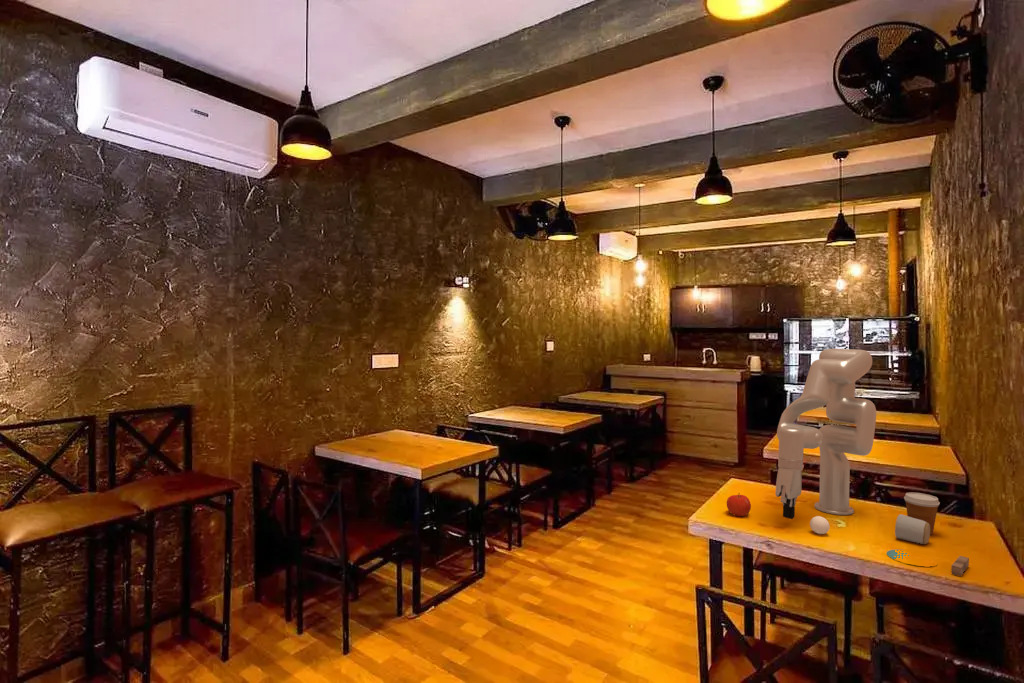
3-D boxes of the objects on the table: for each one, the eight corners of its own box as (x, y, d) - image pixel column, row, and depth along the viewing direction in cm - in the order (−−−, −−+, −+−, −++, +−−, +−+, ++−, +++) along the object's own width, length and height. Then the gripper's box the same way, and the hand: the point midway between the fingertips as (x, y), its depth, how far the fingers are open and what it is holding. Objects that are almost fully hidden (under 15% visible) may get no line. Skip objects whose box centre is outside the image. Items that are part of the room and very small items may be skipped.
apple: (755, 516, 194) (756, 494, 194) (739, 519, 191) (739, 497, 190) (737, 509, 201) (738, 488, 201) (721, 512, 198) (722, 491, 198)
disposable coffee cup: (896, 528, 183) (897, 493, 183) (915, 525, 186) (916, 490, 186) (926, 539, 174) (927, 502, 174) (946, 535, 177) (946, 499, 177)
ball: (813, 529, 182) (814, 512, 182) (832, 534, 178) (832, 517, 178) (806, 533, 178) (807, 516, 178) (825, 538, 174) (825, 520, 174)
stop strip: (959, 564, 155) (959, 555, 155) (968, 566, 154) (968, 558, 154) (951, 574, 149) (951, 565, 149) (960, 576, 147) (960, 567, 147)
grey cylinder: (926, 548, 167) (926, 523, 167) (894, 540, 173) (894, 516, 173) (932, 539, 174) (933, 516, 174) (901, 532, 180) (902, 509, 180)
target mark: (893, 546, 167) (893, 546, 167) (942, 559, 158) (942, 559, 158) (881, 557, 160) (881, 556, 160) (931, 571, 151) (931, 570, 151)
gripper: (788, 459, 192) (786, 510, 193) (769, 464, 183) (767, 518, 183) (811, 463, 187) (809, 516, 187) (792, 469, 177) (790, 525, 177)
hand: (788, 517), depth 185 cm, fingers closed
